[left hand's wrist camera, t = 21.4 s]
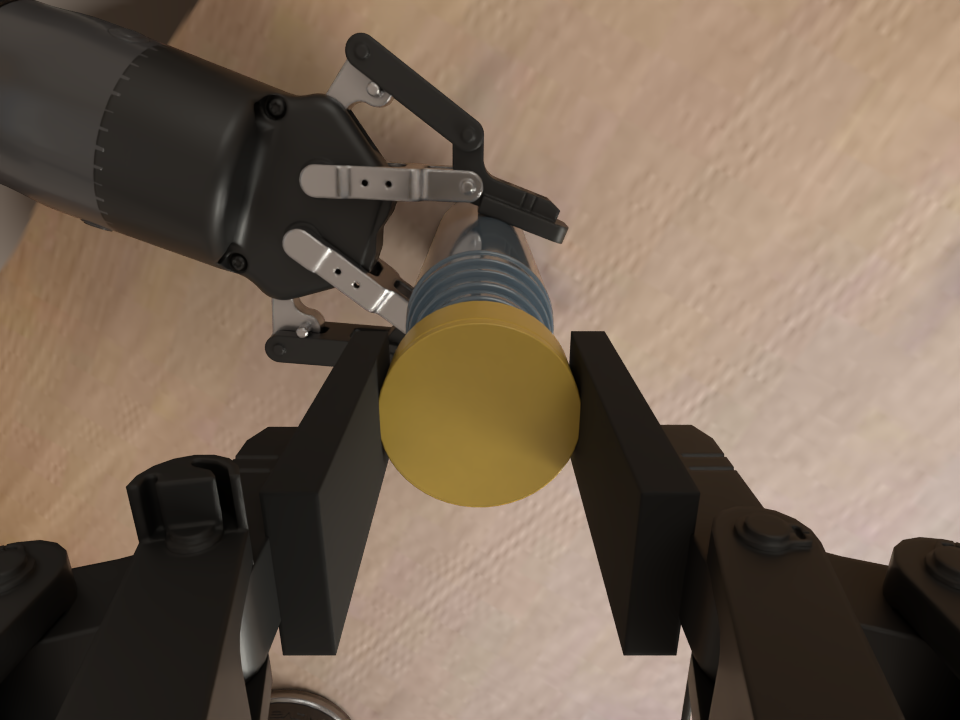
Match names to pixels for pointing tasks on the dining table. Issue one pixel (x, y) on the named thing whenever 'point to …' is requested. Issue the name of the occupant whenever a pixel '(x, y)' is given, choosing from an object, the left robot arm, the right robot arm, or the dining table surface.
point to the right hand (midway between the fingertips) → (537, 288)
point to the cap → (479, 405)
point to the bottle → (478, 268)
